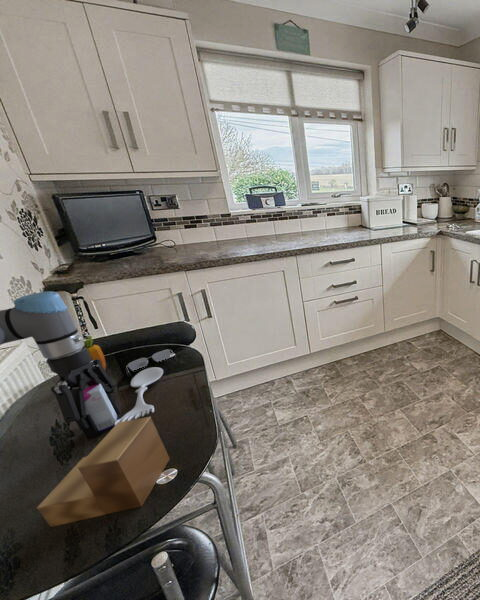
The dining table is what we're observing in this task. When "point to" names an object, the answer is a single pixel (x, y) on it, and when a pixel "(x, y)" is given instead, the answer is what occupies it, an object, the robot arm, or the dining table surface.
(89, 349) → the carrot
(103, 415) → the supplement box
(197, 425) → the dining table surface
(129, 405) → the dining table surface
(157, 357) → the eyeglasses
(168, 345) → the dining table surface
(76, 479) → the wooden stepped block
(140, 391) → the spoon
